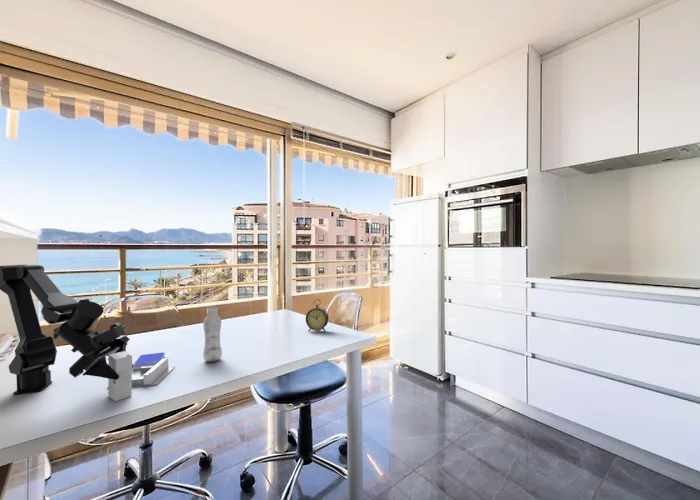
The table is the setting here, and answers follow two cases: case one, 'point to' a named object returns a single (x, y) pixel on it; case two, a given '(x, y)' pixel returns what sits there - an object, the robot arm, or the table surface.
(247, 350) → the table surface
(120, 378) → the skincare box
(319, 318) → the alarm clock
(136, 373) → the rail base
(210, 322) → the plastic bottle
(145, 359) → the hard drive
